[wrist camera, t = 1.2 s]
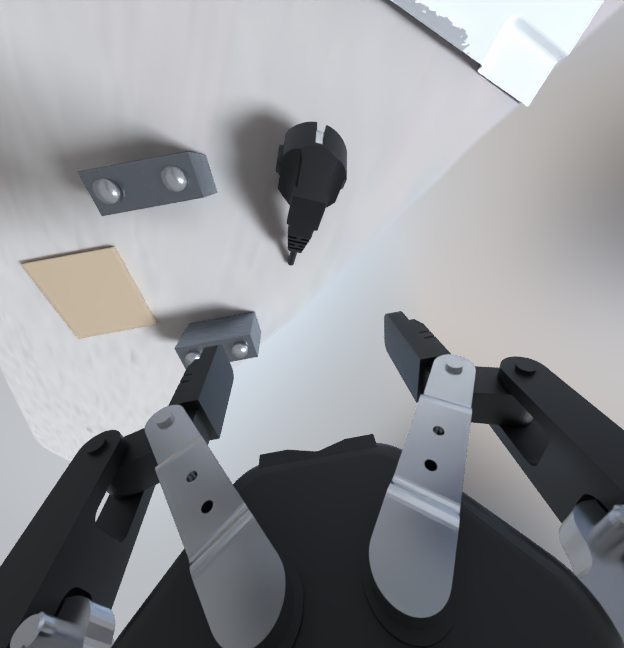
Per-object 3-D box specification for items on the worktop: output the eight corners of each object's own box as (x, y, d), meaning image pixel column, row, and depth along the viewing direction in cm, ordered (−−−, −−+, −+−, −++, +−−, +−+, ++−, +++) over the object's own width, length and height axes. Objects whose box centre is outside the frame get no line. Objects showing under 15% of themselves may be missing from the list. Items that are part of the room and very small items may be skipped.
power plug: (263, 264, 27) (276, 158, 16) (272, 210, 30) (287, 89, 19) (315, 273, 28) (358, 180, 17) (318, 220, 31) (357, 112, 20)
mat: (26, 262, 26) (20, 264, 25) (114, 246, 26) (111, 247, 25) (81, 335, 30) (78, 338, 30) (156, 322, 30) (154, 324, 30)
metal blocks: (116, 171, 23) (71, 171, 18) (205, 154, 23) (185, 150, 18) (198, 343, 33) (184, 373, 28) (261, 332, 33) (257, 360, 28)
